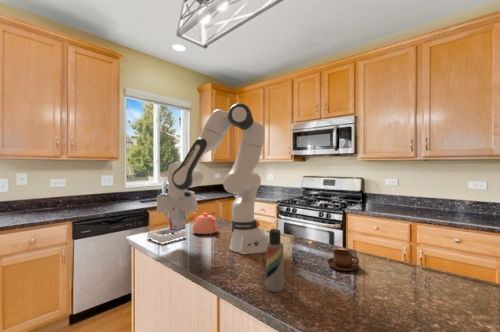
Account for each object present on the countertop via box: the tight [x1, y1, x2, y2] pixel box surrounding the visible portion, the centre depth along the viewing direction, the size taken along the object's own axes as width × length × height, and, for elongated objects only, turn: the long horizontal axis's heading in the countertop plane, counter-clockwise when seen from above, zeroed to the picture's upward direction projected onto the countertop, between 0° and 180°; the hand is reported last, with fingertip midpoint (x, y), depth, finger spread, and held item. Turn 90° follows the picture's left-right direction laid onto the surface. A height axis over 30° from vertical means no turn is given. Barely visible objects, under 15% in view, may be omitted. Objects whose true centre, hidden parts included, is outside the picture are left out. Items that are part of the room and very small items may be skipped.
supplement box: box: [169, 208, 186, 231], centre depth 133 cm, size 6×6×12 cm
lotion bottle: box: [266, 228, 285, 293], centre depth 88 cm, size 6×6×20 cm
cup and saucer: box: [327, 248, 360, 272], centre depth 106 cm, size 12×12×6 cm
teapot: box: [191, 211, 219, 235], centre depth 160 cm, size 22×16×12 cm
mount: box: [147, 227, 187, 243], centre depth 147 cm, size 15×15×5 cm
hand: (177, 220), depth 133 cm, fingers closed on supplement box, 8 cm apart
